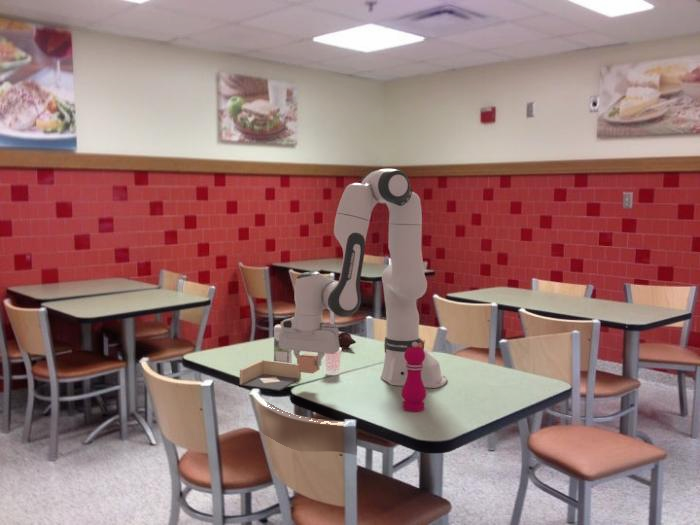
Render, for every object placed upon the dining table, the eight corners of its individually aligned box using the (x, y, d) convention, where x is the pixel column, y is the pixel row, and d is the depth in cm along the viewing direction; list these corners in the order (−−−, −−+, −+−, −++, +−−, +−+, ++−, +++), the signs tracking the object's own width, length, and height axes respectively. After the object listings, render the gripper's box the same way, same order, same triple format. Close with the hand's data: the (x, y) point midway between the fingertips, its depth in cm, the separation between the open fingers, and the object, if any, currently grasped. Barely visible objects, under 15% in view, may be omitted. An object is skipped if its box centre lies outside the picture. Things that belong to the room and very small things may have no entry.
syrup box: (292, 362, 239) (292, 323, 238) (288, 366, 233) (289, 327, 232) (276, 361, 240) (277, 323, 238) (273, 365, 234) (273, 326, 232)
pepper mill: (423, 404, 191) (425, 338, 189) (427, 412, 184) (429, 344, 182) (399, 404, 191) (401, 338, 189) (402, 412, 184) (404, 344, 182)
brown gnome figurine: (364, 334, 259) (342, 331, 271) (349, 332, 255) (328, 329, 267) (361, 351, 258) (339, 347, 270) (346, 349, 254) (325, 345, 266)
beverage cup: (343, 371, 227) (344, 332, 225) (338, 376, 221) (339, 336, 219) (327, 370, 228) (327, 331, 227) (321, 374, 222) (322, 335, 221)
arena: (300, 378, 217) (300, 364, 217) (279, 390, 203) (279, 375, 203) (262, 373, 223) (262, 359, 222) (238, 385, 209) (238, 370, 208)
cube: (319, 369, 207) (319, 354, 206) (312, 373, 202) (312, 358, 202) (305, 368, 209) (305, 353, 208) (298, 371, 204) (298, 356, 204)
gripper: (342, 322, 203) (342, 365, 204) (285, 318, 211) (286, 359, 212) (334, 326, 197) (334, 370, 199) (276, 321, 205) (276, 364, 206)
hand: (309, 364), depth 205 cm, fingers closed on cube, 5 cm apart
